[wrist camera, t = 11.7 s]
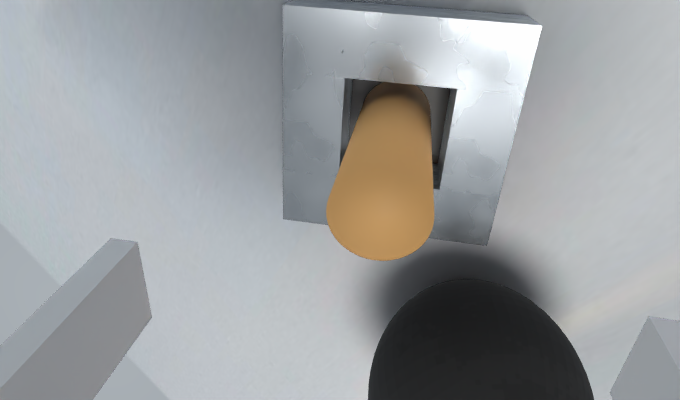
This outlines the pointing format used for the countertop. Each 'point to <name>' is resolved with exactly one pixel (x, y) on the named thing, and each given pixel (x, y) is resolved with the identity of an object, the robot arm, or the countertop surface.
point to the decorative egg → (475, 349)
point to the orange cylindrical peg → (386, 177)
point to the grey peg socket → (407, 68)
